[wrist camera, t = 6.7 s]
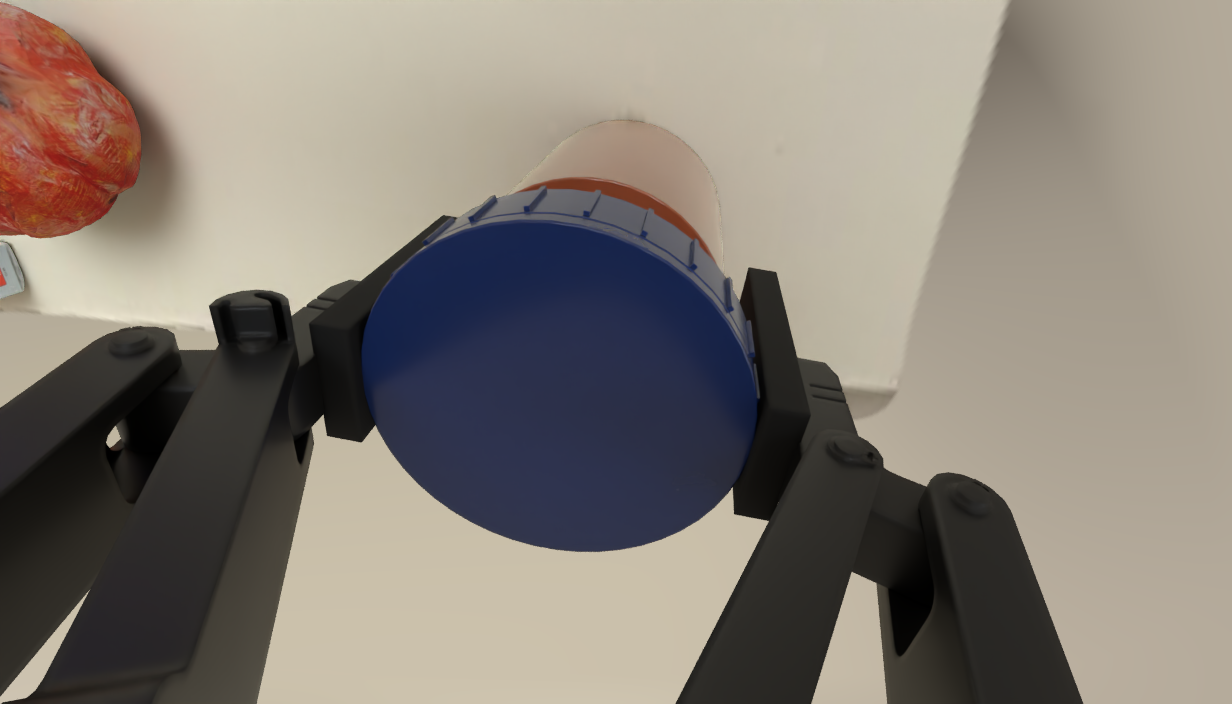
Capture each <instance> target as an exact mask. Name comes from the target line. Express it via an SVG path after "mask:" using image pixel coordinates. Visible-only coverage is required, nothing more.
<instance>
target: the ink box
mask: <svg viewBox="0 0 1232 704" xmlns="http://www.w3.org/2000/svg"><path fill="white" fill-rule="evenodd" d="M23 290H24V278H23V275H22V272H21V269H20V267H19V264H18V262H17V260H16V257H15V255H14V253H13V251H12V249H11V248H10V246H9V245H8V244H7V243H4V242H0V299H2V298H5V297H8V296H11V295H14V294H17V293H20V292H23Z"/></svg>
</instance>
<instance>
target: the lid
mask: <svg viewBox="0 0 1232 704" xmlns="http://www.w3.org/2000/svg"><path fill="white" fill-rule="evenodd" d="M422 243H423V244H424V245H425V246H424V247H423V248H422V249H419V250H418V251H417V252H416V253H415V254H414V255H412V256H411V257H410V258H409V259H408V260H407V261H405V262H404V263H403V264H402V265H401V266H400V267H399V268H397V269H396V270H395V271H394V272H393V273H392V274H391V276H390V277H391V279H390V280H389V281H388V282H387V283H386V285H385V286H384V287H383V289H382V290H381V292H380V294H379V296H378V298H377V299H376V301H375V303H374V305H373V307H372V309H371V312H370V315H369V318H368V321H367V323H366V326H365V331H364V336H363V342H362V348H361V366H362V375H363V383H364V391H365V397H366V400H367V404H368V407H369V410H370V413H371V416H372V418H373V420H374V422H375V425H376V427H377V429H378V431H379V433H380V435H381V436H382V438H383V440H384V442H385V443H386V445H387V446H388V448H389V450H390V451H391V453H392V454H393V455H394V457H395V458H396V459H397V461H398V462H399V463H400V464H401V466H402V467H403V468H404V469H405V471H406V472H407V473H408V474H409V475H410V476H411V477H412V478H413V479H414V480H415V481H416V482H417V483H418V484H419V485H420V486H421V487H422V488H423V489H425V490H426V491H427V492H428V493H429V494H430V495H432V496H433V497H434V498H435V499H436V500H438V501H439V502H440V503H442V504H443V505H445V506H446V507H448V508H449V509H450V510H452V511H454V512H455V513H456V514H458V515H460V516H462V517H463V518H465V519H467V520H468V521H470V522H472V523H474V524H476V525H478V526H480V527H482V528H485V529H487V530H489V531H491V532H493V533H496V534H499V535H501V536H504V537H507V538H509V539H512V540H516V541H519V542H523V543H526V544H530V545H533V546H539V547H545V548H549V549H555V550H564V551H575V552H602V551H613V550H621V549H626V548H632V547H637V546H642V545H645V544H648V543H652V542H655V541H658V540H661V539H663V538H666V537H668V536H670V535H673V534H675V533H677V532H679V531H681V530H683V529H685V528H686V527H688V526H690V525H691V524H693V523H695V522H696V521H698V520H699V519H701V518H702V517H703V516H704V515H706V514H707V513H708V512H710V511H711V510H712V509H713V508H714V507H715V506H716V505H717V504H718V503H719V502H720V501H721V500H722V499H723V498H724V497H725V496H726V495H727V494H728V492H729V491H730V490H731V488H732V487H733V485H734V484H735V483H736V481H737V480H738V478H739V477H740V475H741V473H742V471H743V469H744V467H745V465H746V462H747V459H748V456H749V453H750V450H751V447H752V444H753V441H754V438H755V434H756V427H757V419H758V404H757V403H759V401H760V392H759V384H758V376H757V368H756V364H754V362H753V357H755V349H754V341H753V332H752V324H751V321H750V320H749V321H746V318H745V315H744V313H743V310H742V307H741V305H740V302H739V300H738V298H737V296H736V294H735V292H734V291H733V283H732V279H731V278H730V277H729V278H726V277H725V276H724V274H723V273H722V272H721V270H720V269H719V268H718V266H717V265H716V264H715V262H714V261H713V260H712V259H711V258H710V257H709V256H708V254H707V253H706V252H705V251H704V250H703V249H702V248H701V247H700V246H699V241H698V240H697V239H696V238H695V239H694V240H692V239H691V238H690V237H688V236H687V235H686V234H684V233H683V232H682V231H681V230H679V229H678V228H677V227H675V226H674V225H673V224H671V223H669V222H667V221H666V220H664V219H662V218H661V217H659V216H657V215H656V214H654V210H653V209H651V208H649V209H648V210H646V209H643V208H641V207H639V206H636V205H634V204H632V203H629V202H627V201H624V200H621V199H617V198H614V197H610V196H607V195H603V194H601V190H596V191H595V192H594V193H593V192H587V191H580V190H573V189H547V186H541V187H540V188H539V189H538V190H533V191H525V192H518V193H515V194H511V195H507V196H503V197H500V198H496V196H495V195H493V196H491V197H489V198H488V199H487V200H486V201H485V202H484V203H483V204H482V205H480V206H477V207H475V208H473V209H471V210H470V211H468V212H467V213H465V214H463V215H462V216H460V217H459V218H457V219H455V220H454V219H453V218H452V217H451V218H450V219H448V220H447V221H446V222H445V223H444V224H442V225H441V226H440V227H439V228H438V229H437V230H435V231H434V232H433V233H432V234H431V235H430V236H428V237H427V238H426V239H425V240H424V241H423V242H422Z"/></svg>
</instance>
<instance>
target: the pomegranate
mask: <svg viewBox="0 0 1232 704" xmlns="http://www.w3.org/2000/svg"><path fill="white" fill-rule="evenodd" d="M140 159H141V135H140V128H139V124H138V122H137V120H136V118H135V113H134V111H133V109H132V106H131V104H130V102H129V101H128V100H127V98H126V97H125V96H124V95H123V94H122V93H121V92H120V91H119V90H117V89H116V88H115V87H114V86H113V85H112V84H110V83H109V82H108V81H107V80H105V79H104V78H103V77H101V76H100V75H99V73H98V72H97V70H96V69H95V67H94V65H93V64H92V62H91V60H90V59H89V57H88V55H87V54H86V52H85V51H84V50H83V48H82V47H81V46H80V44H79V43H78V42H77V41H76V40H74V39H73V38H72V37H71V36H69V35H68V34H67V33H66V32H65V31H64V30H62V29H61V28H59V27H57V26H55V25H54V24H52V23H50V22H48V21H46V20H44V19H42V18H40V17H38V16H36V15H34V14H32V13H29V12H27V11H25V10H23V9H20V8H18V7H15V6H12V5H9V4H6V3H1V2H0V235H9V236H13V235H15V236H16V235H25V234H26V235H28V236H30V237H35V238H51V237H56V236H61V235H67V234H70V233H72V232H75V231H78V230H80V229H81V228H83V227H85V226H88V225H91V224H92V223H94V222H95V221H97V220H99V219H101V217H102V216H104V215H105V214H106V213H108V211H109V210H110V208H111V207H112V205H113V204H114V202H115V201H116V199H117V196H118V194H120V193H122V192H123V191H125V190H126V189H128V188H131V187H132V186H133V185H134V184H135V182H136V179H137V176H138V173H139V168H140Z"/></svg>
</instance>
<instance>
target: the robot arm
mask: <svg viewBox="0 0 1232 704" xmlns="http://www.w3.org/2000/svg"><path fill="white" fill-rule="evenodd" d="M450 218H451V216H445V215H443V216H441V217H440V218H439V219H438V220H436V221H435V222H434V223H433V224H431V225H430V226H429V227H428V228H426V229H425V230H424V231H423V232H421V233H420V234H419V235H418V236H417V237H415V238H414V239H413V240H412V241H410V242H409V243H408V244H407V245H405V246H404V247H403V248H402V249H400V250H399V251H398V252H397V253H395V254H394V255H393V256H392V257H390V258H389V259H388V260H387V261H385V262H384V263H383V264H382V265H380V266H379V267H378V268H377V269H375V270H374V271H373V272H372V273H371V274H369V275H368V276H367V277H366V278H364V279H363V280H362V281H361V282H360V281H354V280H348V281H345V282H342V283H340V284H337V285H334V286H332V287H330V288H328V289H327V290H326V291H324V292H323V293H322V294H320V295H319V296H318V297H317V299H314V300H312V301H311V302H310V303H308V304H307V307H303V308H302V309H301V310H299V311H298V312H297V313H295V314H294V315H293V316H291V312H290V306H289V301H288V299H287V298H286V297H285V296H284V295H282V294H280V293H276V292H273V291H266V290H250V291H240V292H236V293H232V294H228V295H225V296H223V297H221V298H219V299H216V300H215V301H214V302H213V303H212V304H211V305H210V306H209V308H210V312H211V316H212V320H213V324H214V328H215V331H216V335H217V339H218V343H219V345H218V347H217V349H216V350H179V349H178V346H177V342H176V339H175V335H174V334H173V333H172V332H170V331H169V330H167V329H163V328H158V327H142V326H137V327H132V328H130V327H129V328H124V329H120V330H119V331H116V332H113V333H109V334H107V335H105V336H103V337H101V338H99V339H97V340H95V341H94V342H92V343H91V344H89V345H88V346H87V347H85V348H84V349H82V350H81V351H80V352H78V353H77V354H75V355H74V356H73V357H71V358H70V359H68V360H67V361H66V362H64V363H63V364H61V365H60V366H59V367H57V368H56V369H54V370H53V371H51V372H50V373H49V374H47V375H46V376H44V377H43V378H42V379H40V380H39V381H37V382H36V383H35V384H33V385H32V386H31V387H29V388H28V389H26V390H25V391H23V392H22V393H21V394H19V395H18V396H16V397H15V398H14V399H12V400H11V401H9V402H8V403H7V404H5V405H4V406H2V407H1V408H0V696H1V695H2V694H3V693H4V691H5V690H6V689H7V687H9V685H10V684H11V683H12V682H13V681H14V680H15V678H16V677H17V676H18V675H19V673H20V672H21V671H22V670H23V669H24V668H25V666H26V665H27V664H28V663H29V661H30V660H31V659H32V658H33V657H34V656H35V654H36V653H37V652H38V651H39V649H40V648H41V647H42V646H43V645H44V643H45V642H46V641H47V640H48V639H49V638H50V636H51V635H52V634H53V633H54V632H55V630H56V629H57V628H58V627H59V625H60V624H61V623H62V622H63V621H64V620H65V619H66V617H67V616H68V615H69V614H70V612H71V611H72V610H73V609H74V608H75V606H76V605H77V604H78V603H79V602H80V600H81V599H82V598H83V597H84V596H85V595H86V593H87V592H88V591H89V590H90V591H89V593H88V595H87V597H86V598H85V600H84V602H83V604H82V606H81V608H80V610H79V612H78V614H77V616H76V618H75V619H74V621H73V623H72V625H71V627H70V629H69V631H68V633H67V635H66V637H65V639H64V640H63V642H62V644H61V646H60V648H59V650H58V652H57V654H56V656H55V658H54V660H53V661H52V663H51V665H50V667H49V669H48V671H47V673H46V675H45V677H44V678H43V680H42V682H41V683H40V685H39V686H38V688H37V689H36V691H34V692H33V693H32V694H31V695H30V696H28V697H27V698H25V699H19V700H14V701H8V702H3V703H2V704H257V699H258V694H259V690H260V685H261V681H262V676H263V672H264V667H265V663H266V658H267V654H268V649H269V645H270V640H271V636H272V631H273V627H274V622H275V617H276V613H277V609H278V604H279V600H280V595H281V591H282V586H283V581H284V577H285V572H286V568H287V563H288V559H289V554H290V550H291V545H292V541H293V536H294V532H295V527H296V523H297V518H298V514H299V509H300V504H301V500H302V495H303V491H304V487H305V482H306V477H307V473H308V469H309V464H310V460H311V455H312V450H313V445H314V440H313V433H312V428H311V427H312V426H313V425H314V424H315V423H316V422H317V421H318V420H319V418H320V417H321V416H322V415H323V414H324V420H325V426H326V432H327V436H330V437H335V438H341V439H346V440H352V441H356V442H362V441H363V440H364V439H365V438H366V436H367V435H368V434H369V433H370V431H371V430H372V429H373V427H374V426H375V422H374V420H373V418H372V416H371V413H370V410H369V407H368V404H367V400H366V397H365V391H364V383H363V375H362V366H361V348H362V342H363V336H364V331H365V326H366V323H367V321H368V318H369V315H370V312H371V309H372V307H373V305H374V303H375V301H376V299H377V298H378V296H379V294H380V292H381V290H382V289H383V287H384V286H385V285H386V283H387V282H388V281H389V280H390V279H391V277H390V276H391V274H392V273H393V272H394V271H395V270H396V269H397V268H399V267H400V266H401V265H402V264H403V263H404V262H405V261H407V260H408V259H409V258H410V257H411V256H412V255H414V254H415V253H416V252H417V251H418V250H419V249H422V248H423V247H424V246H425V245H424V244H423V243H422V242H423V241H424V240H425V239H426V238H427V237H428V236H430V235H431V234H432V233H433V232H434V231H435V230H437V229H438V228H439V227H440V226H441V225H442V224H444V223H445V222H446V221H447V220H448V219H450ZM452 218H453V219H454V220H455V219H457V217H452ZM740 305H741V307H742V310H743V313H744V315H745V318H746V321H749V320H750V321H751V324H752V332H753V341H754V349H755V357H753V362H754V364H756V368H757V376H758V384H759V392H760V401H759V403H757V404H758V419H757V427H756V434H755V438H754V441H753V444H752V447H751V450H750V453H749V456H748V459H747V462H746V465H745V467H744V469H743V471H742V473H741V475H740V477H739V478H738V480H737V481H736V483H735V484H734V485H733V499H734V514H736V515H742V516H746V517H751V518H757V519H762V520H767V521H769V523H768V525H767V526H766V528H765V530H764V532H763V534H762V536H761V538H760V540H759V542H758V544H757V546H756V548H755V550H754V552H753V554H752V556H751V558H750V559H749V561H748V563H747V565H746V567H745V569H744V571H743V573H742V575H741V577H740V579H739V581H738V583H737V585H736V587H735V589H734V591H733V593H732V595H731V597H730V598H729V601H728V603H727V605H726V606H725V608H724V611H723V612H722V614H721V616H720V618H719V620H718V622H717V624H716V626H715V628H714V630H713V632H712V634H711V636H710V638H709V639H708V641H707V643H706V646H705V647H704V649H703V651H702V653H701V655H700V657H699V659H698V661H697V663H696V665H695V667H694V669H693V671H692V673H691V675H690V677H689V679H688V680H687V682H686V684H685V686H684V688H683V691H682V692H681V694H680V696H679V698H678V700H677V702H676V704H811V702H812V699H813V696H814V693H815V689H816V686H817V683H818V680H819V676H820V673H821V670H822V666H823V663H824V660H825V657H826V653H827V650H828V647H829V643H830V640H831V637H832V634H833V631H834V627H835V624H836V621H837V618H838V614H839V611H840V608H841V605H842V601H843V598H844V595H845V591H846V588H847V585H848V582H849V579H850V575H851V572H854V573H856V574H858V575H860V576H863V577H865V578H867V579H869V580H871V581H873V582H876V583H877V592H878V593H877V594H878V605H879V616H880V627H881V638H882V649H883V661H884V671H885V683H886V694H887V704H1083V702H1082V699H1081V696H1080V694H1079V691H1078V688H1077V686H1076V683H1075V680H1074V678H1073V675H1072V672H1071V670H1070V667H1069V664H1068V662H1067V659H1066V656H1065V654H1064V651H1063V648H1062V646H1061V643H1060V640H1059V638H1058V635H1057V632H1056V630H1055V627H1054V624H1053V622H1052V619H1051V616H1050V614H1049V611H1048V608H1047V606H1046V603H1045V600H1044V598H1043V595H1042V592H1041V590H1040V587H1039V584H1038V582H1037V579H1036V576H1035V574H1034V571H1033V568H1032V566H1031V563H1030V560H1029V558H1028V555H1027V552H1026V550H1025V547H1024V544H1023V542H1022V539H1021V536H1020V534H1019V531H1018V528H1017V526H1016V523H1015V520H1014V518H1013V515H1012V513H1011V510H1010V509H1009V507H1008V505H1007V504H1006V502H1005V501H1004V500H1003V499H1002V498H1001V497H1000V496H999V495H998V494H997V493H996V492H995V491H993V490H992V489H991V488H990V487H988V486H987V485H985V484H983V483H982V482H979V481H978V480H976V479H972V478H970V477H967V476H965V475H961V474H955V473H949V472H948V473H941V474H937V475H936V476H934V477H933V478H932V479H931V480H930V482H929V484H928V486H927V487H926V486H923V485H921V484H918V483H916V482H913V481H910V480H908V479H906V478H903V477H901V476H898V475H896V474H894V473H892V472H890V471H888V470H886V469H885V468H884V467H883V458H882V456H881V455H880V453H879V451H878V450H877V449H876V448H875V447H874V446H873V445H871V444H870V443H869V442H868V441H866V440H864V439H863V438H861V437H859V436H858V434H857V431H856V428H855V425H854V422H853V419H852V416H851V413H850V410H849V407H848V404H846V399H845V396H844V393H843V392H842V387H841V384H840V381H839V378H838V376H837V375H836V374H835V373H834V372H833V371H832V370H831V368H830V367H829V366H828V365H827V364H826V363H823V362H818V361H812V360H807V359H801V358H797V355H796V351H795V347H794V343H793V339H792V335H791V331H790V327H789V322H788V318H787V314H786V310H785V306H784V302H783V298H782V294H781V290H780V285H779V281H778V277H777V273H776V272H772V271H766V270H761V269H755V268H748V272H747V276H746V280H745V283H744V287H743V291H742V295H741V299H740ZM115 426H116V427H117V430H118V432H119V435H120V437H121V439H120V440H119V441H118V442H117V443H116V444H115V445H114V446H112V447H111V448H109V447H108V446H107V444H106V441H107V437H108V435H109V433H110V432H111V431H112V429H113V428H114V427H115ZM778 502H779V503H778Z"/></svg>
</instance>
